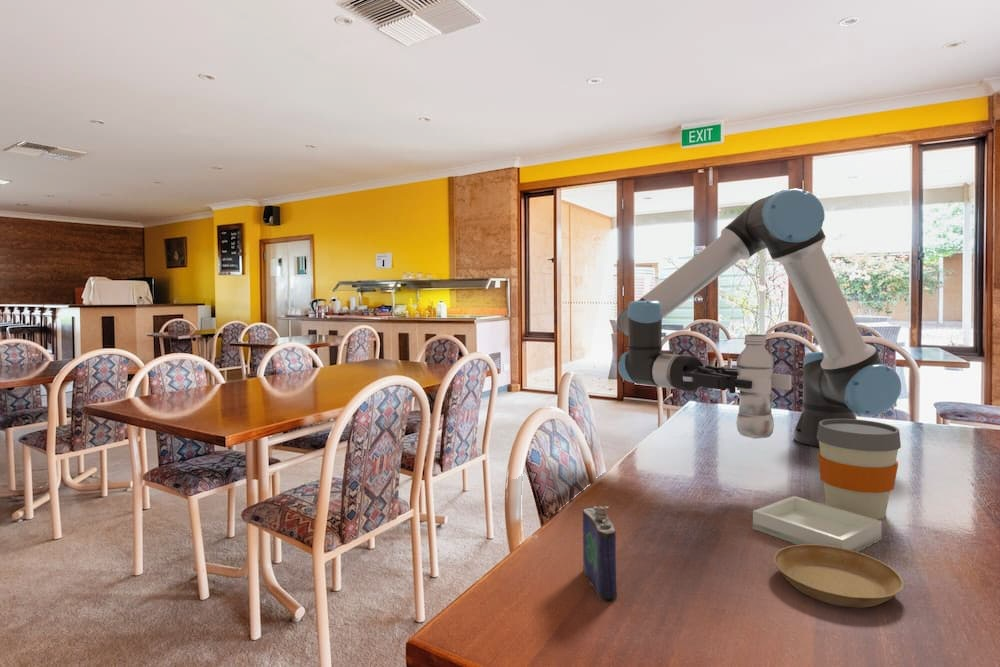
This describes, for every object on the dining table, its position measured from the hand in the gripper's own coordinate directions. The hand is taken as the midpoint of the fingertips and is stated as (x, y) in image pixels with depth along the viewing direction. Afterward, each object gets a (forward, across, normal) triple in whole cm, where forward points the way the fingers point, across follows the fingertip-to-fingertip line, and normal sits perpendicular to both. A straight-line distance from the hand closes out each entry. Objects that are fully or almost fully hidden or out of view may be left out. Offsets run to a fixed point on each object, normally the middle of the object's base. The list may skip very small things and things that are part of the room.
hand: (780, 384), depth 110 cm
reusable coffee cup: (+12, -4, -22) cm, 25 cm away
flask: (+5, +51, -21) cm, 55 cm away
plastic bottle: (-5, 0, -11) cm, 12 cm away
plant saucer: (+23, +26, -22) cm, 41 cm away
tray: (+13, +12, -21) cm, 28 cm away
